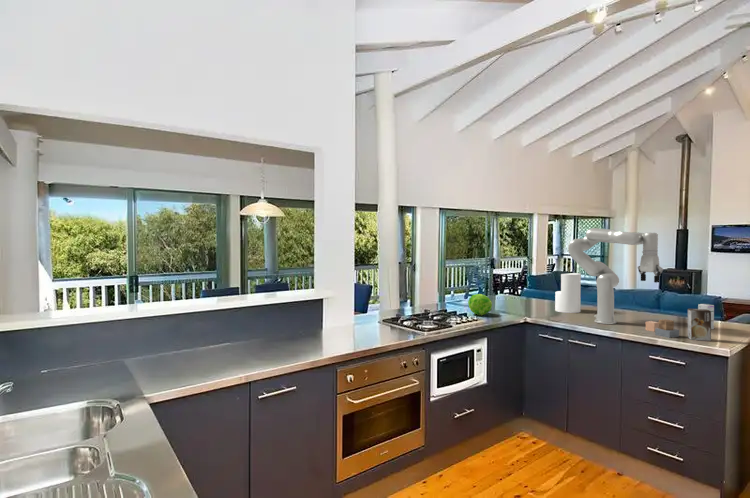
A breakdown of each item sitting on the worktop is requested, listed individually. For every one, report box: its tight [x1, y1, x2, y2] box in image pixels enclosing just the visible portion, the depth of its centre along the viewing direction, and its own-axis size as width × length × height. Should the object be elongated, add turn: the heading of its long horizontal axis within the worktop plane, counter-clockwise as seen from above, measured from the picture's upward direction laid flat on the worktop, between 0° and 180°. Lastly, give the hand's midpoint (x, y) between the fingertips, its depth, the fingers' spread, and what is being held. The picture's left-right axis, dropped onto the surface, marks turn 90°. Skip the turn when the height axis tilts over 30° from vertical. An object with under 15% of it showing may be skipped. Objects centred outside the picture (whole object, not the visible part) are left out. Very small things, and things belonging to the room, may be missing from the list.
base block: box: [654, 328, 680, 339], centre depth 248 cm, size 8×8×4 cm
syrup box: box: [697, 303, 715, 330], centre depth 266 cm, size 6×6×14 cm
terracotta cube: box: [645, 320, 659, 333], centre depth 262 cm, size 5×5×5 cm
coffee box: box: [687, 308, 712, 342], centre depth 238 cm, size 9×6×16 cm
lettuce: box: [467, 293, 493, 316], centre depth 317 cm, size 17×20×15 cm
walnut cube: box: [658, 318, 675, 330], centre depth 248 cm, size 5×5×5 cm
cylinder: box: [554, 272, 582, 314], centre depth 331 cm, size 17×17×28 cm
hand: (649, 281), depth 267 cm, fingers open, 9 cm apart
